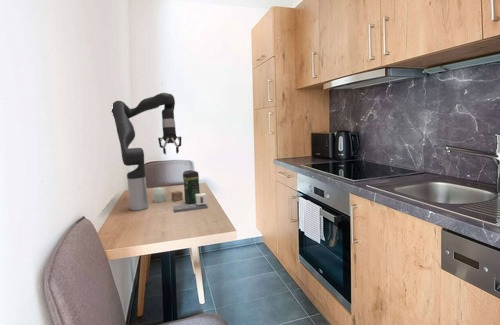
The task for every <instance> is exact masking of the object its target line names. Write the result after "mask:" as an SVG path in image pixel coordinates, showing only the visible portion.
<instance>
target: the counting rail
mask: <svg viewBox="0 0 500 325" xmlns="http://www.w3.org/2000/svg"><path fill="white" fill-rule="evenodd" d="M172 209H173V212H174V213H180V212H187V211H195V210H202V209H208V205H207V204H203V205H197V204H196V203H195V204H194V203H191V204H189V203H187V204H182V205H174V206H173V207H172Z"/></svg>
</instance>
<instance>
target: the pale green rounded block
mask: <svg viewBox="0 0 500 325" xmlns="http://www.w3.org/2000/svg"><path fill="white" fill-rule="evenodd" d="M152 194H153V195H152V197H153V198H152V199H153V202H154V203H156V204H157V203H158V204H160V203H164V202H166V201H167V199H166V198H167V197H166V196H167V195H166V187H164V186H158V187H153V188H152Z"/></svg>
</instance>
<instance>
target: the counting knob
mask: <svg viewBox="0 0 500 325" xmlns="http://www.w3.org/2000/svg"><path fill="white" fill-rule="evenodd" d="M195 197H196V203H195V204H197V205H203V204H206V205H207V204H208V202H207V194H206V193H205V192H203V193H200V194H195Z"/></svg>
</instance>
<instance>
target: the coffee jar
mask: <svg viewBox="0 0 500 325" xmlns="http://www.w3.org/2000/svg"><path fill="white" fill-rule="evenodd" d="M199 175H200V174H199V172H198V171H197V170H192V169H191V170H190V169H189V170H184V171H183V172H182V179H183V189H184V190H183V191H184V192H183V193H184V203H187V204H196V197H195V194H200V176H199Z"/></svg>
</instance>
